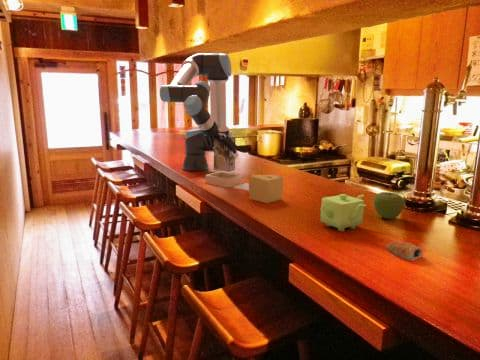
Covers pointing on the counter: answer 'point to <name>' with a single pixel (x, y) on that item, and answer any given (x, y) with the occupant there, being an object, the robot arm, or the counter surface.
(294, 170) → the counter surface
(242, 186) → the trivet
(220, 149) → the coffee box
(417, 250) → the grey tapered shell
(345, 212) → the kettle
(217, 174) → the tray
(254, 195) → the cheese
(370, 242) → the counter surface
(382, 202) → the apple
